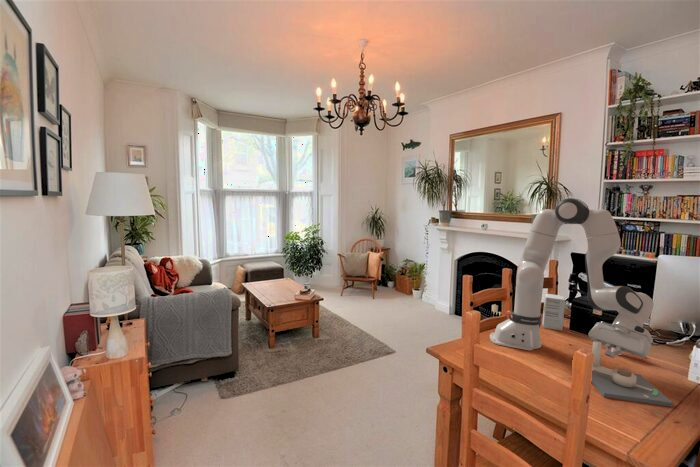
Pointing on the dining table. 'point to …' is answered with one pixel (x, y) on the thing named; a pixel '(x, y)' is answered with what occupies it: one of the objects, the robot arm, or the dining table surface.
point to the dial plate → (629, 390)
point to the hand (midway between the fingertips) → (608, 356)
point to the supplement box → (553, 312)
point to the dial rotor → (619, 375)
